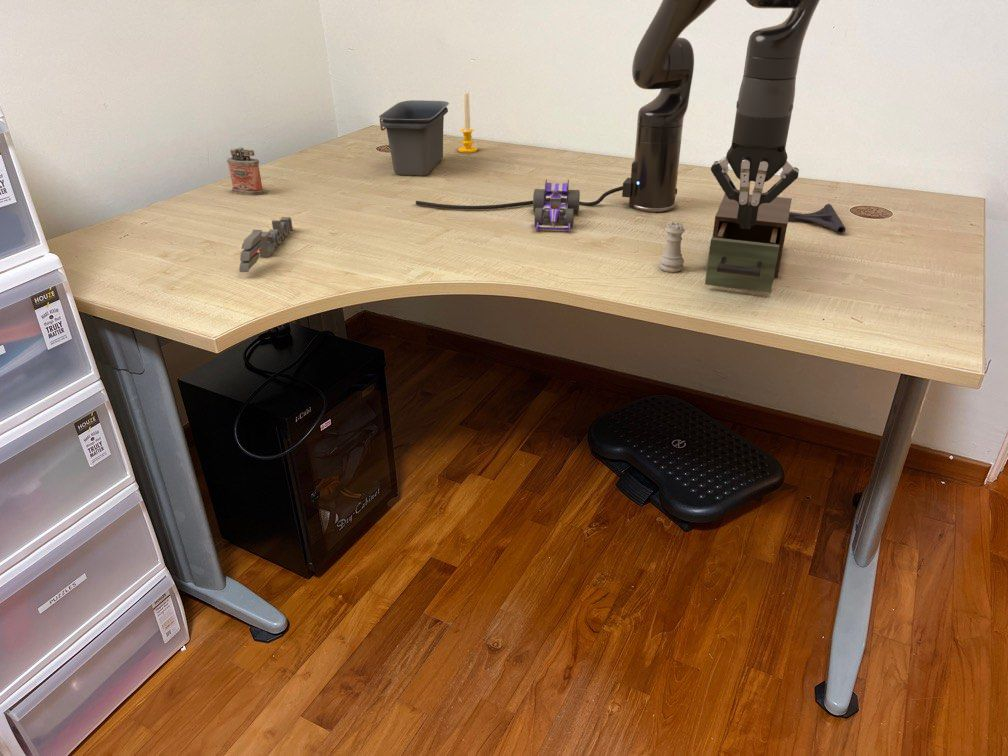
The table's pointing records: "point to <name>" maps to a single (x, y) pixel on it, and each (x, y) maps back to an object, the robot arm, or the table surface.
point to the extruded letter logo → (263, 242)
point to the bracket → (820, 218)
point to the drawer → (743, 257)
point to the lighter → (245, 172)
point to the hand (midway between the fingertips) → (745, 227)
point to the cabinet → (758, 218)
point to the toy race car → (555, 206)
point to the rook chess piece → (672, 249)
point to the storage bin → (415, 135)
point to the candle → (467, 127)
